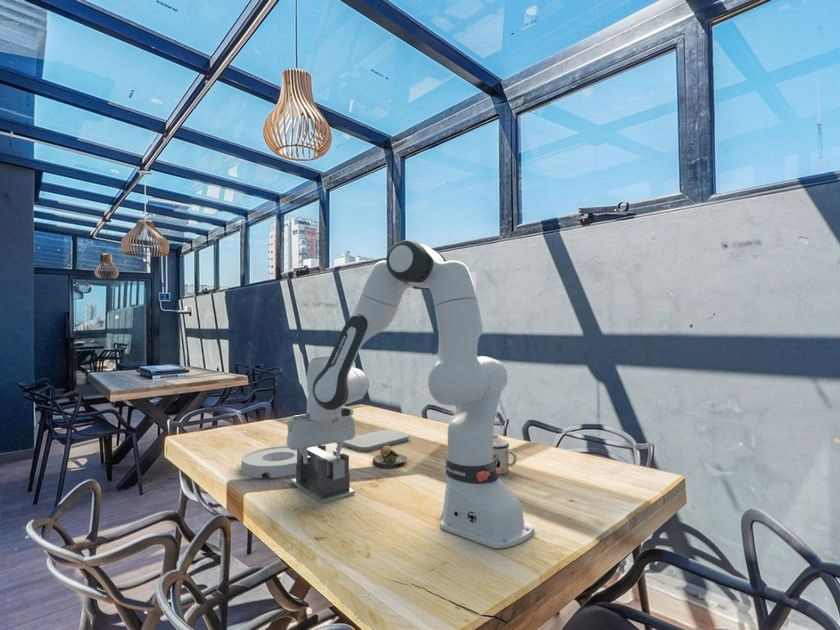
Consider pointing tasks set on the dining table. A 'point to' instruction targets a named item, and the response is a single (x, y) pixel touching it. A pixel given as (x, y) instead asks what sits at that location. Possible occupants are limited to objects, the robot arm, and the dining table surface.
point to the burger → (388, 458)
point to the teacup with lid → (502, 454)
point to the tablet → (376, 440)
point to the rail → (333, 463)
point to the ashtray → (270, 462)
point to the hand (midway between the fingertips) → (322, 459)
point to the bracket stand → (322, 480)
